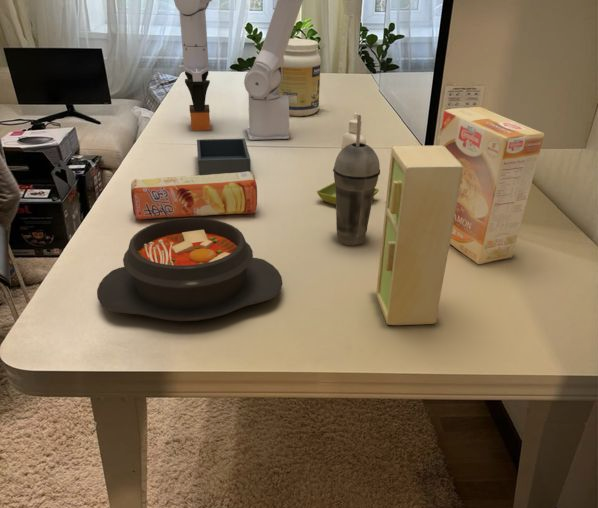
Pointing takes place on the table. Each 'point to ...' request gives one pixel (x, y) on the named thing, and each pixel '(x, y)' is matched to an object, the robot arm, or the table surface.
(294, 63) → the supplement tub
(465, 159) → the coffeecake box
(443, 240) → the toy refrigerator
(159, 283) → the casserole
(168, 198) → the snack package
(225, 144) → the bin
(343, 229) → the beverage cup
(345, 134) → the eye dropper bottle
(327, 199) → the saucer
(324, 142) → the table surface
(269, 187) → the table surface
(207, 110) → the orange rectangular block
